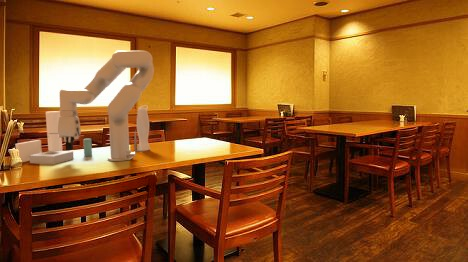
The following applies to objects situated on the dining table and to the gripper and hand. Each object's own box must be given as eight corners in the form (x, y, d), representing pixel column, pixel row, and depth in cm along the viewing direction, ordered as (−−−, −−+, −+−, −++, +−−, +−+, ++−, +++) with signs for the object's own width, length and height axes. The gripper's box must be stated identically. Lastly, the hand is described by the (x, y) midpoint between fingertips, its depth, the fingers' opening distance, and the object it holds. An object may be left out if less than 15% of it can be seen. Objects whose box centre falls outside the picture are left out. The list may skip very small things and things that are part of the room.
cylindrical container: (56, 155, 182) (53, 112, 180) (45, 155, 184) (42, 112, 181) (65, 153, 189) (62, 111, 186) (55, 153, 191) (52, 111, 188)
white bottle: (144, 148, 203) (142, 104, 200) (153, 150, 198) (151, 105, 195) (133, 150, 196) (131, 105, 193) (142, 152, 191) (140, 105, 188)
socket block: (73, 158, 171) (73, 151, 171) (53, 164, 158) (53, 156, 157) (51, 157, 174) (50, 150, 174) (30, 163, 161) (29, 155, 160)
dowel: (93, 156, 180) (92, 138, 179) (89, 157, 176) (88, 139, 175) (87, 155, 181) (86, 138, 180) (82, 157, 177) (81, 139, 176)
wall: (42, 157, 176) (40, 140, 175) (20, 163, 162) (18, 143, 161) (39, 157, 176) (37, 140, 175) (17, 163, 163) (15, 143, 161)
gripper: (86, 114, 163) (87, 149, 164) (61, 113, 166) (62, 147, 168) (76, 114, 155) (76, 152, 157) (50, 113, 158) (51, 150, 160)
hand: (69, 149), depth 162 cm, fingers closed
